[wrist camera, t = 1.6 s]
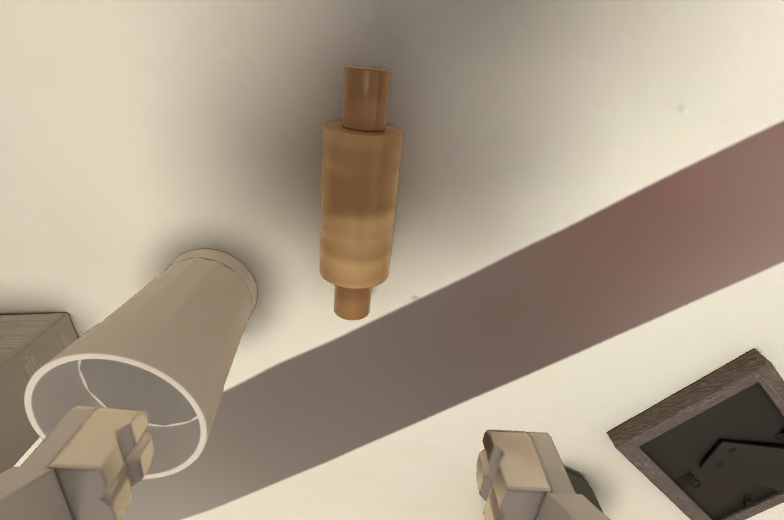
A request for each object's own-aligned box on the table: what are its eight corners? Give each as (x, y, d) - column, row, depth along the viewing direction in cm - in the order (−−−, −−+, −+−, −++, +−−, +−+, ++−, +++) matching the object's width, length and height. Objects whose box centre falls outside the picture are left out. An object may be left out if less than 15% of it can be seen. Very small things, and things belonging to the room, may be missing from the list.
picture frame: (831, 458, 39) (754, 348, 33) (852, 477, 38) (775, 365, 32) (697, 520, 43) (606, 432, 37) (710, 540, 42) (618, 451, 36)
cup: (279, 256, 29) (218, 378, 18) (258, 345, 32) (196, 492, 22) (159, 223, 28) (18, 333, 17) (150, 319, 31) (27, 461, 20)
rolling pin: (328, 61, 24) (319, 65, 20) (406, 70, 24) (413, 74, 20) (322, 291, 30) (314, 327, 26) (383, 295, 31) (385, 331, 27)
